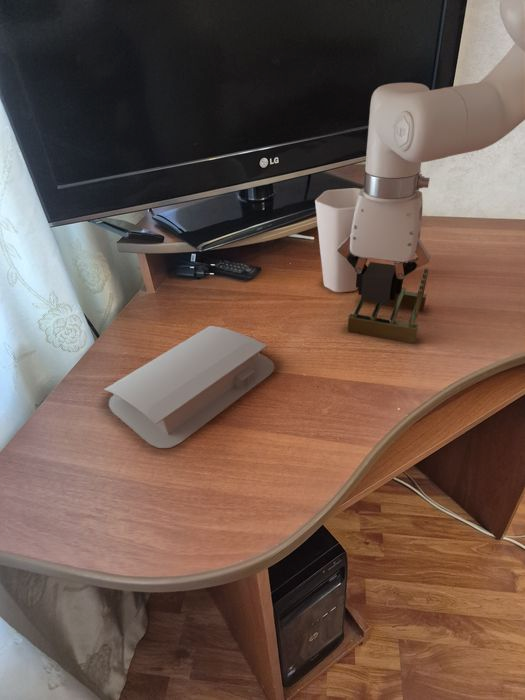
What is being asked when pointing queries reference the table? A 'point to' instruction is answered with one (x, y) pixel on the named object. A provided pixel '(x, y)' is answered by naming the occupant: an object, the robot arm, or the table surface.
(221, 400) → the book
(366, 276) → the box
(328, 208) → the cup
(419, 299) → the rack
